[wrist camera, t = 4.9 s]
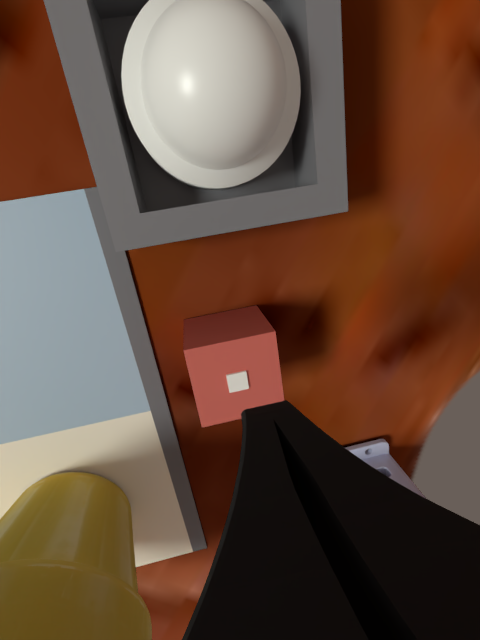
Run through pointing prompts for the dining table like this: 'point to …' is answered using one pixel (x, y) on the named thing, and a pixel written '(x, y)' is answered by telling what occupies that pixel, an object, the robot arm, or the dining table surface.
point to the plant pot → (70, 563)
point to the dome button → (211, 88)
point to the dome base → (162, 189)
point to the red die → (232, 363)
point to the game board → (84, 371)
